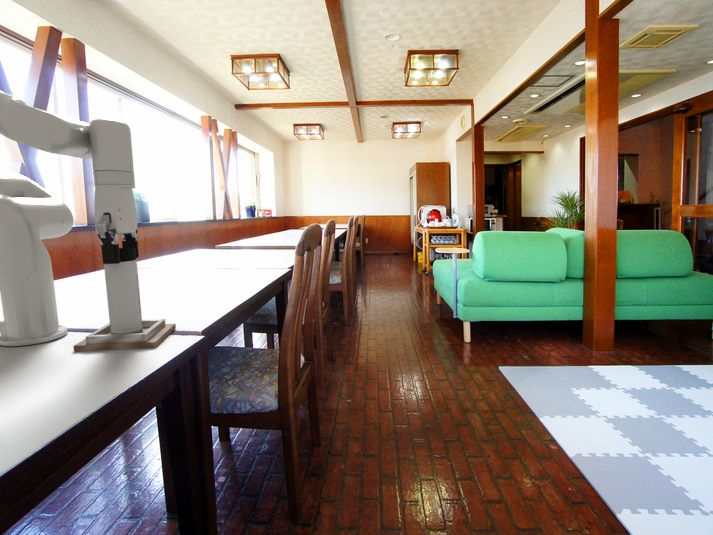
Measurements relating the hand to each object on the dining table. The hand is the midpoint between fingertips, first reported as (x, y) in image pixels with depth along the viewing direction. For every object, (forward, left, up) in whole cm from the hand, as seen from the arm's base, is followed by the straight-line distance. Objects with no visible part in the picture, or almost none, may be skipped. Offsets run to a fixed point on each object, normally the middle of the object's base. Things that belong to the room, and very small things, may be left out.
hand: (122, 260), depth 90 cm
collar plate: (0, 0, -18) cm, 18 cm away
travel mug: (0, -1, -17) cm, 17 cm away
